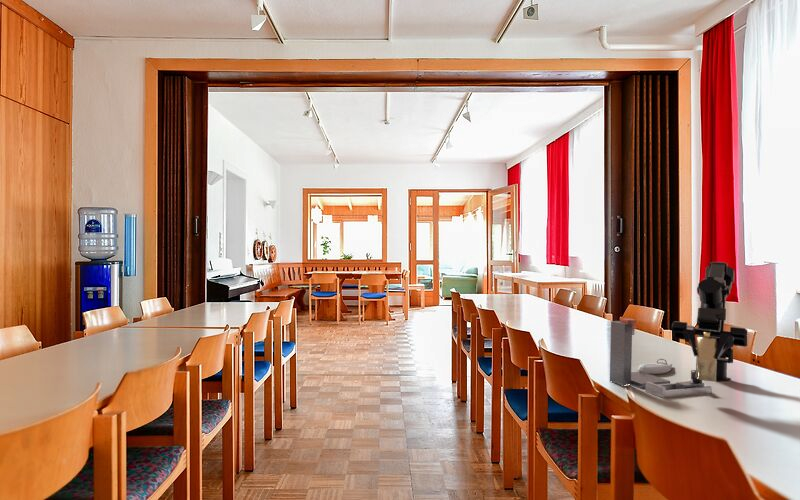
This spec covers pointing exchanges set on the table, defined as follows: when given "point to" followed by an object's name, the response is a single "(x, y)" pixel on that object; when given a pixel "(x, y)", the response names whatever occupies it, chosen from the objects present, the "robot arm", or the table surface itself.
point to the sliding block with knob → (690, 382)
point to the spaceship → (655, 367)
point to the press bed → (626, 356)
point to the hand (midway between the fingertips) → (705, 357)
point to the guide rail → (670, 391)
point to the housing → (706, 357)
